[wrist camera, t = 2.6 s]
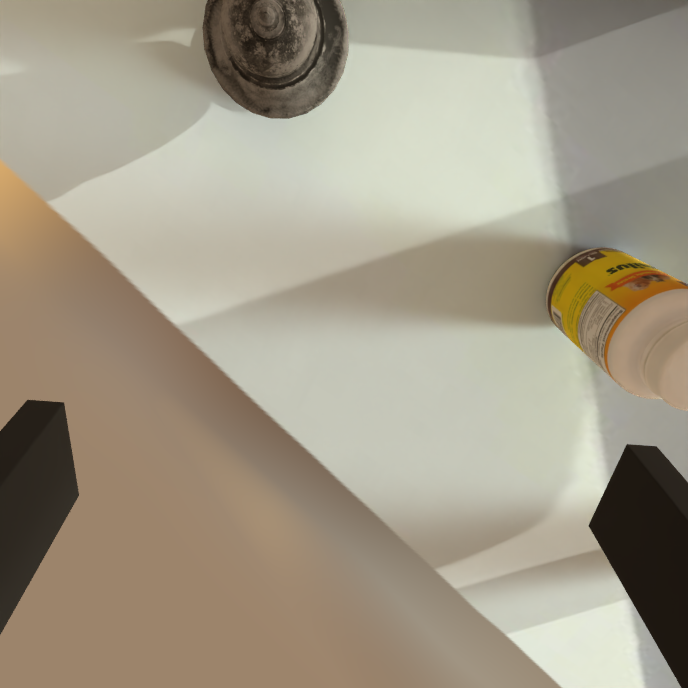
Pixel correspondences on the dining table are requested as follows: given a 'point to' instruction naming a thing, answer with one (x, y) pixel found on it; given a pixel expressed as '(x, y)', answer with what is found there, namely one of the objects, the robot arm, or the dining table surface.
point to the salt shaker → (276, 52)
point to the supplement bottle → (625, 321)
